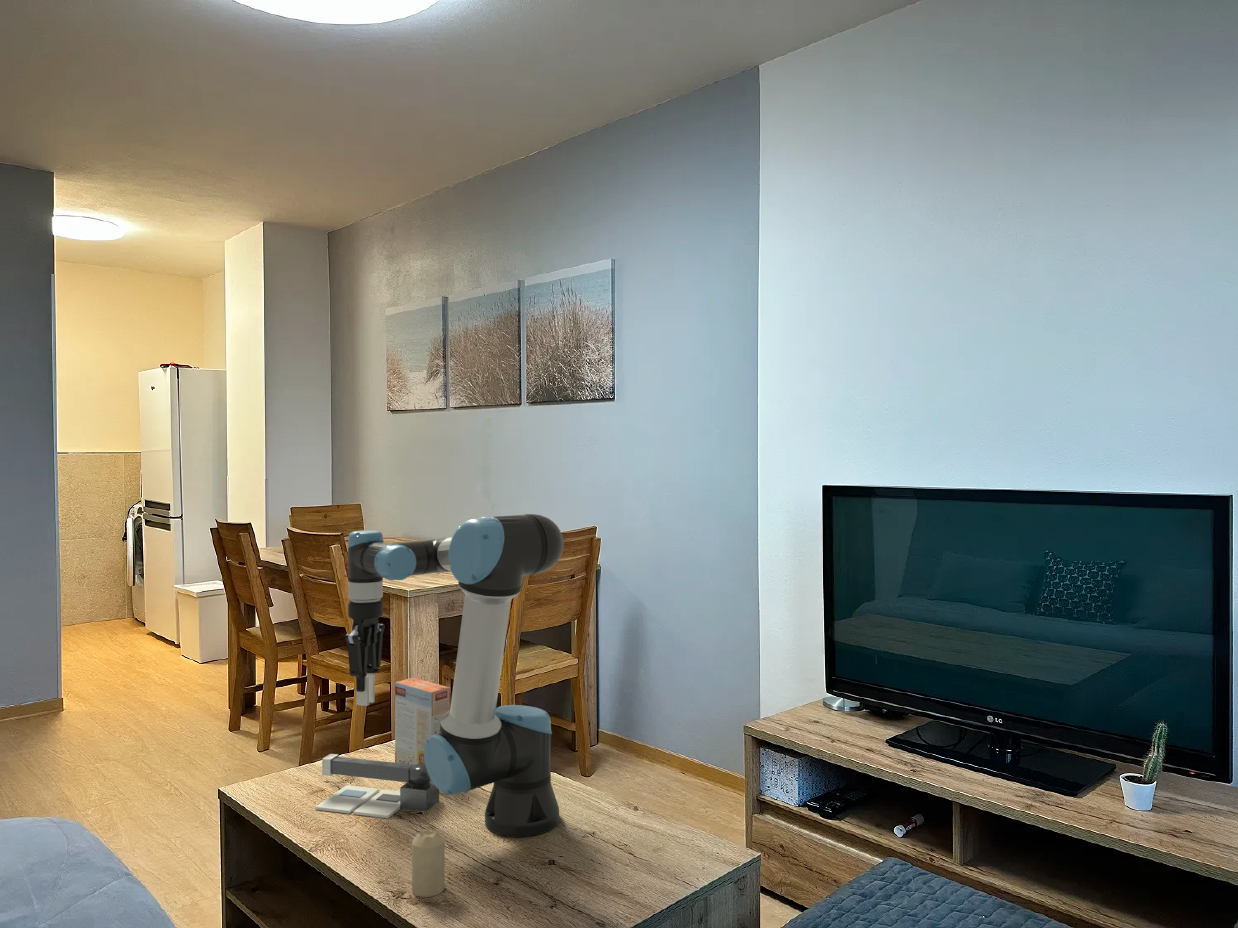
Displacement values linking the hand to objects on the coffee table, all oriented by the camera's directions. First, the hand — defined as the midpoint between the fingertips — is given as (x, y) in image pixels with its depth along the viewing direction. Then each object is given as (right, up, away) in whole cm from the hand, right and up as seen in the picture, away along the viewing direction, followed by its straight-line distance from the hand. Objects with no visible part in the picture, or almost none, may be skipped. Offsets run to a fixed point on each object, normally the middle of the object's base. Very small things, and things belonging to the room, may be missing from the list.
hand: (365, 703), depth 198 cm
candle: (+24, -20, -46) cm, 56 cm away
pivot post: (+15, -19, -11) cm, 26 cm away
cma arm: (+5, -14, -8) cm, 17 cm away
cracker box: (+11, -19, +8) cm, 23 cm away
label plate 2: (+7, -19, -11) cm, 23 cm away
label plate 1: (-1, -19, -9) cm, 21 cm away
